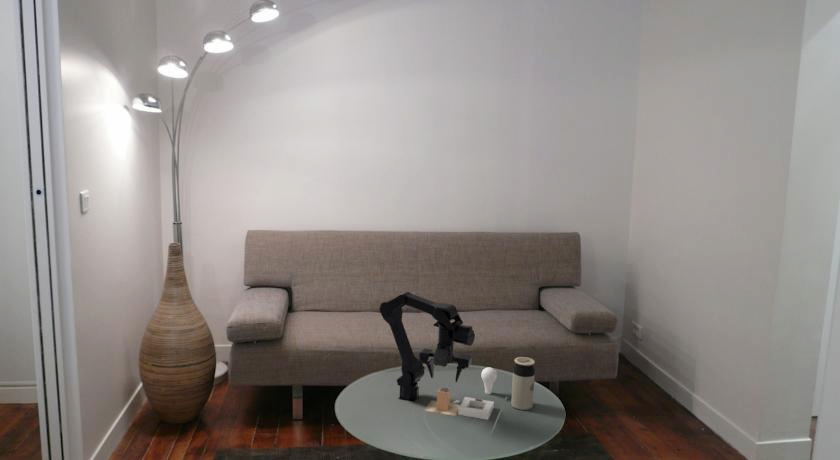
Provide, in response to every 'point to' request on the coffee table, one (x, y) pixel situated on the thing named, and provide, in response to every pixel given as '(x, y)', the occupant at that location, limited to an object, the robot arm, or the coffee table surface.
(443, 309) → the robot arm
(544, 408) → the coffee table surface
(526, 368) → the travel mug
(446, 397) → the plug
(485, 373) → the lightbulb
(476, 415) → the socket block
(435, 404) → the tray slab
